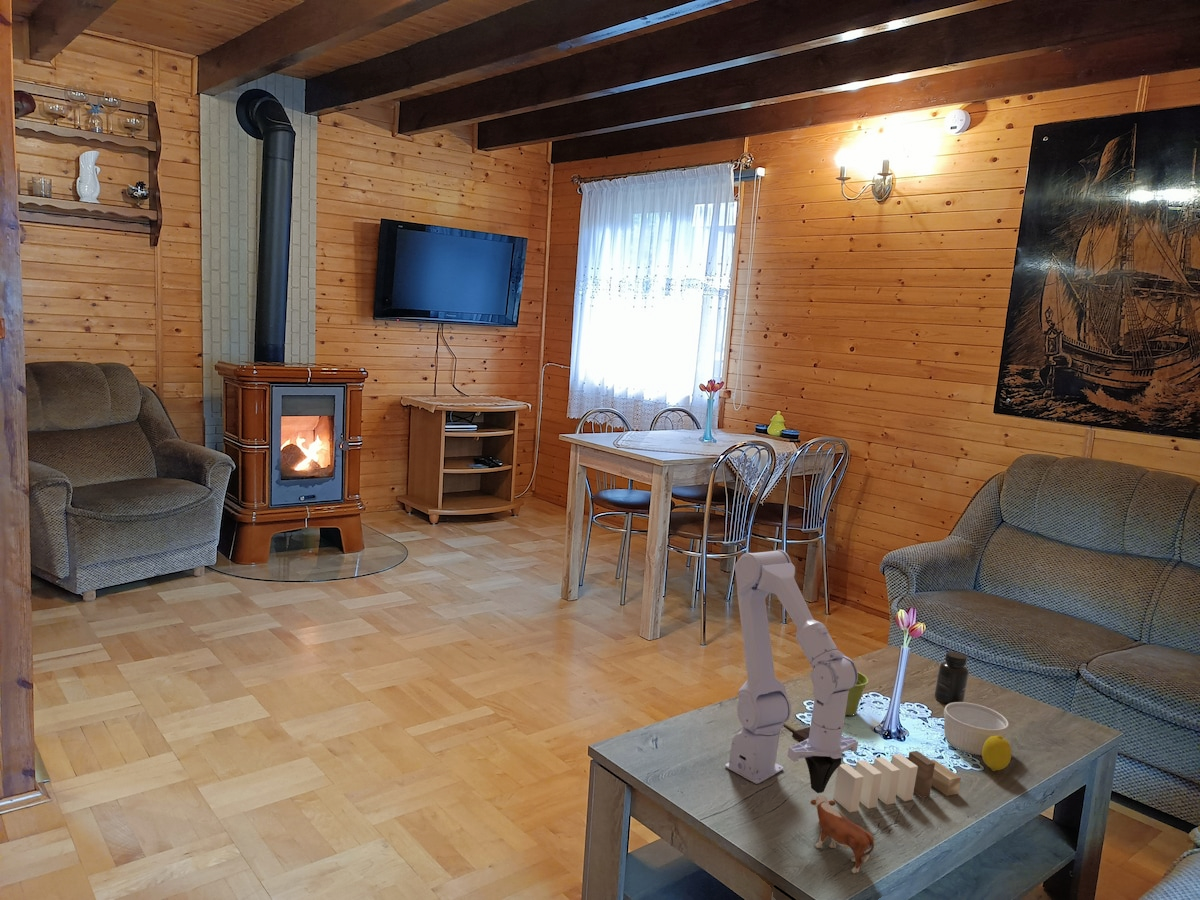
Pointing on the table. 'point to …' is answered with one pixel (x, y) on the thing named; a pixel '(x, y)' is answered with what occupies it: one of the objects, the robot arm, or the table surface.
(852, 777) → the domino
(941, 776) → the end block
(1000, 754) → the lemon
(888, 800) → the domino
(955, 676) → the supplement bottle
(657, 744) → the table surface
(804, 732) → the ice cream bar
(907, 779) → the domino
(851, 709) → the plant pot
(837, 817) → the bull figurine
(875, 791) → the domino
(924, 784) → the domino
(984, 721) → the ramekin
